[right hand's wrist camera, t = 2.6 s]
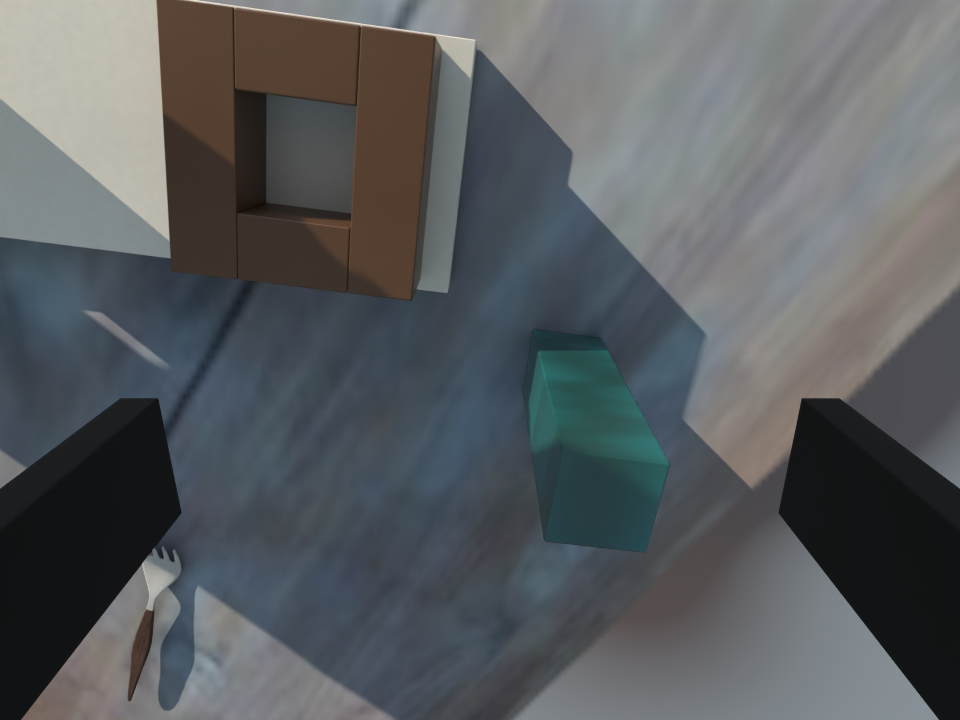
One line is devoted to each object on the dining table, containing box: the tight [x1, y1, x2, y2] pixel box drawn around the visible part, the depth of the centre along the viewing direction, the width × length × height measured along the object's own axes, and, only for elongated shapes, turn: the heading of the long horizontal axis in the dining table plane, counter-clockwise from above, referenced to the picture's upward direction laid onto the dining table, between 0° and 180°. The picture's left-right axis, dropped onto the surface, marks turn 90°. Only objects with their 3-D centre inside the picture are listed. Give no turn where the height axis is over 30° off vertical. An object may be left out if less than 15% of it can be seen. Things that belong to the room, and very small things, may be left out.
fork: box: [128, 546, 182, 701], centre depth 42 cm, size 3×16×2 cm, turn 160°
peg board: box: [0, 0, 477, 301], centre depth 25 cm, size 30×12×14 cm, turn 83°
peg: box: [523, 330, 670, 552], centre depth 29 cm, size 4×4×14 cm
